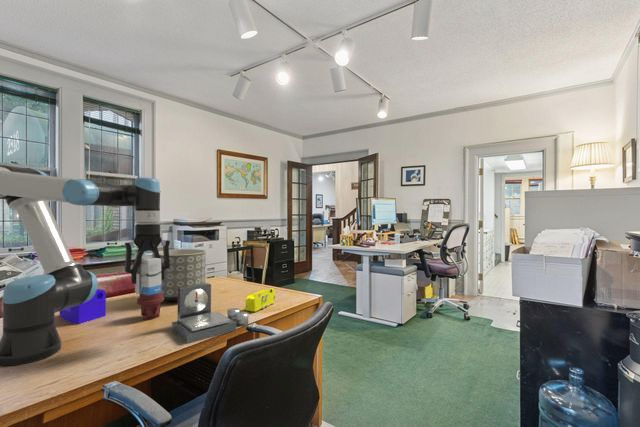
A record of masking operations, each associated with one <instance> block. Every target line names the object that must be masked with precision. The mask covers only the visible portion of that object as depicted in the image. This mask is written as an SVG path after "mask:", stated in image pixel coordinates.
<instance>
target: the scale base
mask: <svg viewBox="0 0 640 427" xmlns="http://www.w3.org/2000/svg"><path fill="white" fill-rule="evenodd" d="M210 312H212V284H211V283H209V282H205V284H198V285H191V286H185V287H178V301H177V320H176V321H171V331H172V332H173V333H174V334H175V335H176V336H178V337H179V338H180V339H181V340H182V341H183V342H184V343H185V344H191V343H194V342H198V341H202V340H206V339H210V338H213V337H217V336H220V335H225V334H228V333H231V332H235V331H237V326H236V322H235V321H233V320H231V319H230V322H229V323H225V324H221V325H217V326H212V327H208V328H204V329H200V330H196V331H191V330H189V329H188V328H187V327H185V326H184V325H183V324H181V323H180V322H179V319H182V318H186V317H191V316H196V315H200V314H205V313H210ZM218 313H219V314H221V315H223V316H225V317H227V315H224V314H223V313H220V312H218ZM228 319H229V318H228Z"/></svg>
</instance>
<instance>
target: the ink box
mask: <svg viewBox="0 0 640 427" xmlns="http://www.w3.org/2000/svg"><path fill="white" fill-rule="evenodd" d="M137 273H138V274H139V293H140V294H144V295H152V294H157V293H161V259H160V258H152V256H151V257H150V256H145V257H143V256H142V258H141V261H140V264H139V267H138V270H137Z"/></svg>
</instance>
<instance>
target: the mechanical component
mask: <svg viewBox="0 0 640 427" xmlns="http://www.w3.org/2000/svg"><path fill="white" fill-rule="evenodd" d="M138 295H139V297H138V298H137V299H136V305H137V304H138V305H139V306H140V307H141V309H140V311H141V312H140V316H142V317H143V320H144V321H148V320H150V319H155V318H160V314H161V303H163V302H164V300H165V299H164V296H162V289H161V293H157V294H152V295H144V294H140V293H139V294H138Z"/></svg>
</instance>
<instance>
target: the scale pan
mask: <svg viewBox="0 0 640 427" xmlns="http://www.w3.org/2000/svg"><path fill="white" fill-rule="evenodd" d="M219 313H220V312H217V311H216V310H215V311H211V312H210V313H205V314H200V315H196V316H191V317H186V318H182V319H179V322H180V323H181V324H183V325H184V326H185V327H187V328H188V329H189V330H191V331H196V330H200V329H204V328H208V327H212V326H217V325H221V324H225V323H229V322H230V319H228V318H227V316H226V315H224V314H222V313H220V314H219ZM221 314H222V315H221ZM223 315H224V316H223ZM225 316H226V317H225Z"/></svg>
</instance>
